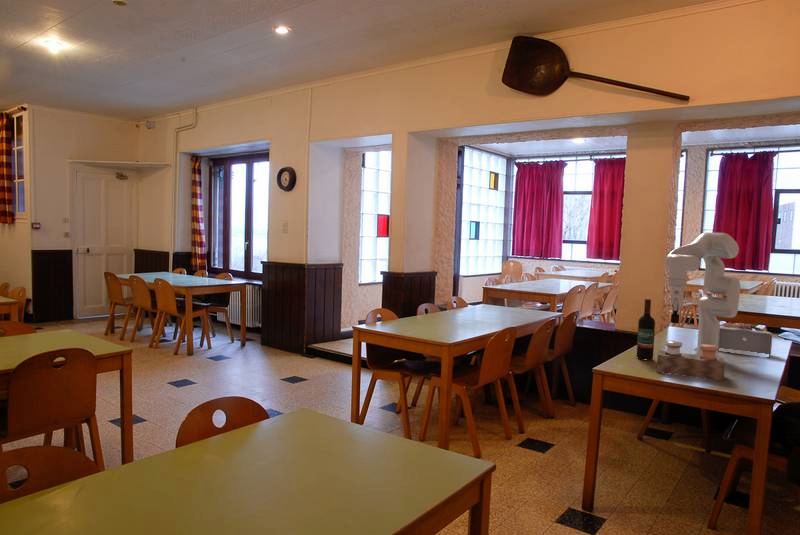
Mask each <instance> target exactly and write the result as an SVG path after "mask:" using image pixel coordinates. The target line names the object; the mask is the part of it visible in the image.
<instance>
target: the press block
mask: <svg viewBox="0 0 800 535" xmlns="http://www.w3.org/2000/svg"><path fill="white" fill-rule="evenodd" d="M721 357H722V356H720V357H715V361H713V360H705V359H702V355H695V353H693V354H692V353H685V352H684V353H683V352H680V356H671V355H667V350H660V349H659V351H658V353H657V360H656V361H657V363H656V364H657V367H656V373H659V372H664V373H663V374H666V373H671V374H670V375H674V374H678V375H677V376H681V375H685V376H684V377H689V376H691V377H690V378H696V377H698V379H703V378H705V380H713V381H718V380H719V382H720V381H721V382H724V378H725V365H726V362H725V358H724V357H722V358H721Z"/></svg>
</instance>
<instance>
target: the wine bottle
mask: <svg viewBox="0 0 800 535" xmlns="http://www.w3.org/2000/svg"><path fill="white" fill-rule="evenodd" d="M651 304H652V299H646V298H645V299H644V309H643V310H644V311H643V315H642V316H640V317H639V319H638V321H637V322H638V324H637V340H636V343H637V344H636V357H638V358H640V359H647V360H646V361H649V360H650V361H652V360H651V359H653V360H654V346H655V329H656V321H655V318H653V317H652V315H651V309H652V308H651V306H652V305H651ZM640 359H639V360H640Z"/></svg>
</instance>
